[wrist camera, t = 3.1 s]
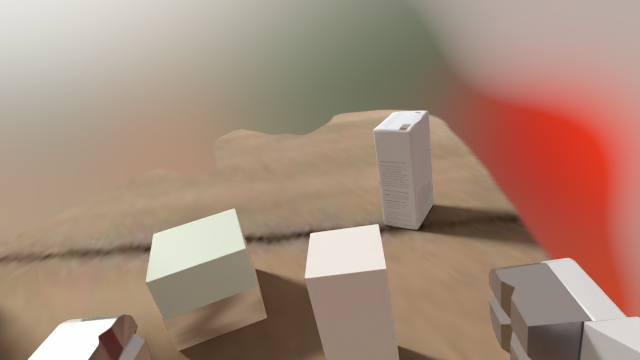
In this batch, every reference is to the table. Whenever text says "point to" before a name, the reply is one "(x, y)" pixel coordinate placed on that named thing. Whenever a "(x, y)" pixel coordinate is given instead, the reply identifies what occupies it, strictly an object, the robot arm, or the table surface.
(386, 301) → the tall grey block
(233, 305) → the ash block
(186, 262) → the sage block
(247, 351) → the table surface
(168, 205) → the table surface
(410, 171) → the skincare box
